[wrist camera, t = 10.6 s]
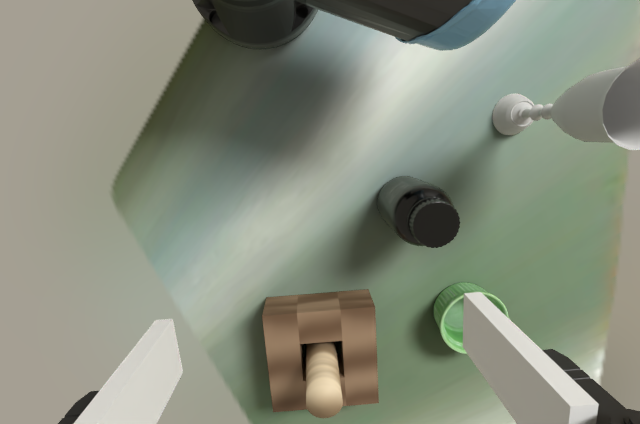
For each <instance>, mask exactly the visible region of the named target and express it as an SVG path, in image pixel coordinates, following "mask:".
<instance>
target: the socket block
mask: <svg viewBox="0 0 640 424" xmlns="http://www.w3.org/2000/svg"><path fill="white" fill-rule="evenodd" d="M262 320H263V329H264V337H265V346H266V354H267V363H268V371H269V380H270V389H271V397H272V406H273V412H282V411H293V410H304V409H307V406H306V357H303V346H302V344H308V343H320V342H332V341H340V346H341V354H337V360H338V367H339V375H340V383H341V391H342V399H343V405H342V406H350V405H361V404H373V403H379V400H378V373H377V346H376V320H375V306H374V303H373V300H372V298H371V295H370V293H369V290H368V289H366V290H353V291H341V292H329V293H316V294H304V295H291V296H279V297H267V298H266V302H265V306H264V310H263V314H262Z"/></svg>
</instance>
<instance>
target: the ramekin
mask: <svg viewBox="0 0 640 424" xmlns="http://www.w3.org/2000/svg"><path fill="white" fill-rule="evenodd" d="M474 292H481V293H482V294H483V295H484V296H485V297H486V298H488V299H489V300H490V301H491V302H492V303H493V304H494V305H495V306H496V307H497V308H498V309H499V310H500V311H501V312H502V313H503V314H504V315H505V316H506V317H508V312H507V309H506V307H505V305H504V304H503V303H502V301H501V300H499V299H498V298H497V297H496V296H494V295H492V294H490V293H488V292H486V291H485V290H484V289H482V288H481V287H479V286H477V285H475V284H472V283H457V284H454V285H451V286H449V287H447V288H446V289H445V290H443V291H442V292H441V293H440V295H439V296H438V298H437V299H436V301H435V304H434V318H435V321H436V323H437V325H438V327H439V329H440V333H441V336H442V338H443V340H444V342H445V343H446V344H447V345H448V346H449V347H450V348H451V349H453V350H455V351H457V352H459V353H463V354H467V352H466V351H465V350H464V348H463V308H464V293H474ZM508 318H509V317H508Z"/></svg>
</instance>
